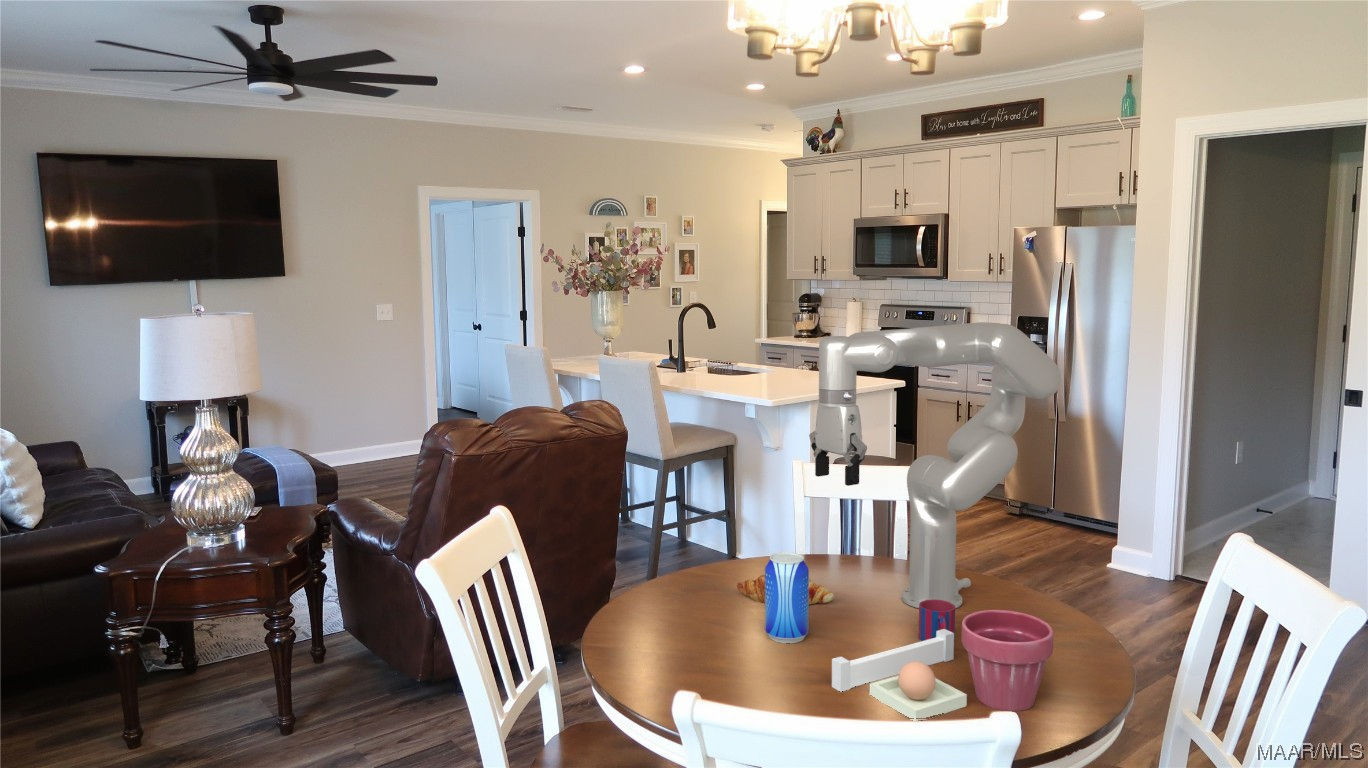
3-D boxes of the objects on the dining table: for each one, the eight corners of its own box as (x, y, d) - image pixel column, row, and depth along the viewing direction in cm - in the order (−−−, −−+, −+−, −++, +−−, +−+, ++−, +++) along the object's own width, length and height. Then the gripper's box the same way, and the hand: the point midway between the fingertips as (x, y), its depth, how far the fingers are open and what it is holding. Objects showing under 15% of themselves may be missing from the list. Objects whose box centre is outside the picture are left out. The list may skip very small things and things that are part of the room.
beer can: (806, 646, 173) (807, 565, 171) (762, 643, 175) (762, 562, 173) (809, 629, 181) (810, 551, 180) (767, 627, 183) (767, 549, 181)
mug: (952, 633, 179) (953, 600, 178) (957, 654, 169) (958, 619, 168) (917, 631, 180) (918, 598, 179) (920, 652, 170) (921, 617, 169)
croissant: (834, 614, 199) (836, 578, 201) (831, 608, 190) (834, 570, 192) (738, 605, 204) (742, 569, 206) (731, 598, 195) (735, 561, 197)
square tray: (918, 680, 158) (919, 669, 158) (966, 706, 149) (966, 694, 149) (869, 695, 153) (869, 683, 153) (915, 722, 143) (915, 710, 143)
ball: (917, 686, 155) (917, 652, 154) (943, 700, 150) (943, 665, 149) (890, 695, 152) (890, 660, 151) (916, 709, 147) (915, 673, 146)
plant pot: (1003, 727, 142) (1006, 648, 140) (942, 690, 154) (943, 618, 153) (1070, 707, 148) (1073, 632, 146) (1005, 674, 160) (1007, 604, 159)
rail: (943, 654, 169) (944, 628, 168) (953, 659, 167) (954, 633, 166) (831, 686, 156) (831, 658, 156) (840, 692, 154) (840, 664, 154)
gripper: (880, 400, 179) (879, 486, 181) (825, 391, 194) (825, 470, 196) (850, 403, 175) (849, 490, 177) (797, 394, 190) (796, 474, 193)
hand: (836, 480), depth 187 cm, fingers open, 9 cm apart
